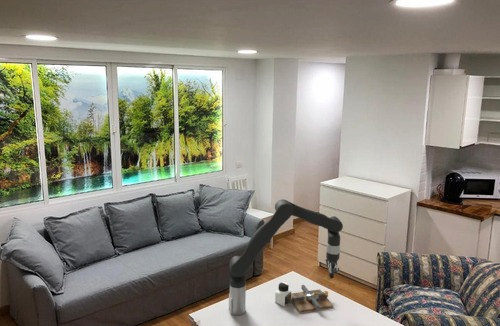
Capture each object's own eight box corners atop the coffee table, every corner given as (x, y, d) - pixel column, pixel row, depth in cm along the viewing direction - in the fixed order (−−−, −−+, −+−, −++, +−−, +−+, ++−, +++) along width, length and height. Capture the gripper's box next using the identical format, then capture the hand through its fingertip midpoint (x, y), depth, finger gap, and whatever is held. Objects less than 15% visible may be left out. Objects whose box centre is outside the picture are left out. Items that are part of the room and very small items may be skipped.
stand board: (298, 313, 223) (298, 310, 223) (287, 296, 240) (287, 293, 240) (333, 307, 229) (333, 304, 229) (319, 291, 246) (320, 288, 246)
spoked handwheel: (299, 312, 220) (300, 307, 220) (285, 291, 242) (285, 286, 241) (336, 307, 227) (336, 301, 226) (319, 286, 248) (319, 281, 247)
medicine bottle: (284, 306, 229) (285, 288, 227) (274, 302, 233) (275, 284, 231) (291, 301, 235) (291, 283, 232) (281, 297, 239) (281, 279, 236)
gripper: (322, 246, 228) (320, 273, 232) (332, 256, 215) (330, 284, 219) (333, 245, 230) (331, 271, 234) (344, 255, 217) (342, 283, 221)
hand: (331, 278), depth 226 cm, fingers closed
